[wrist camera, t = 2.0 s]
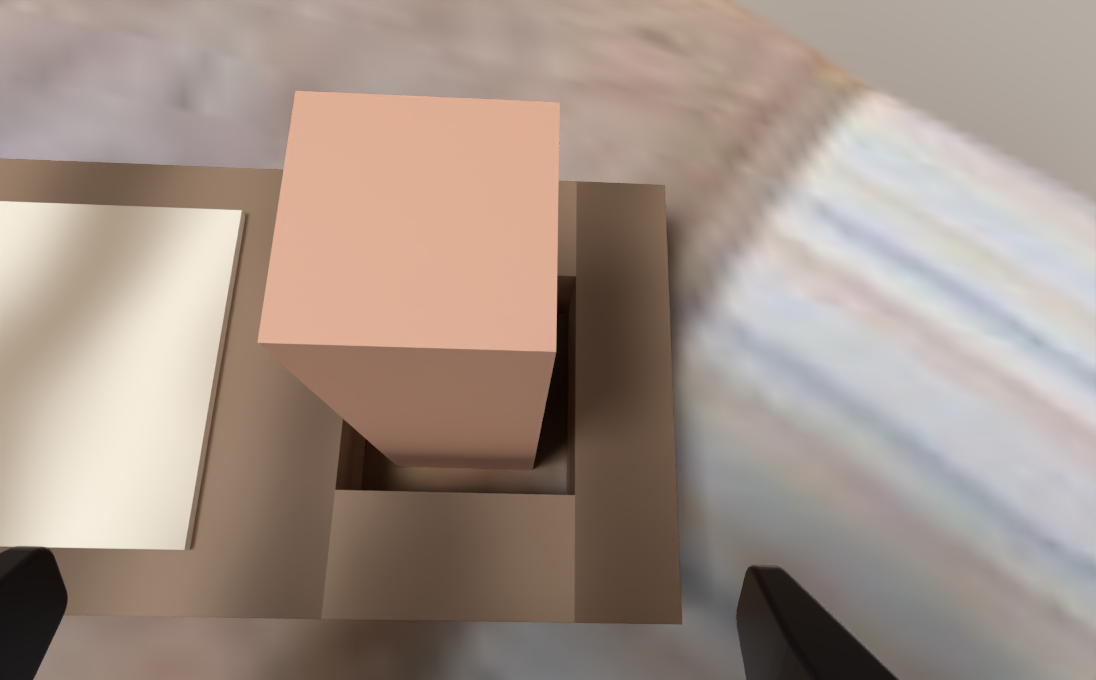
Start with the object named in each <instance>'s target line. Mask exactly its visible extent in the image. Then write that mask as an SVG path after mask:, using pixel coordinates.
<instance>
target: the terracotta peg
mask: <svg viewBox="0 0 1096 680" xmlns="http://www.w3.org/2000/svg"><path fill="white" fill-rule="evenodd" d="M559 114H560V102H537V101H515V100H492V99H469V98H447V97H424V96H401V95H379V94H356V93H333V92H311V91H295V97H294V104H293V111H292V117H291V124H290V130H289V137H288V144H287V150H286V157H285V163H284V170H283V177H282V183H281V190H280V196H279V203H278V210H277V216H276V223H275V229H274V236H273V243H272V249H271V256H270V262H269V269H268V276H267V282H266V289H265V296H264V302H263V309H262V315H261V322H260V329H259V335H258V342H257V343H258V344H259V345H260V346H261V347H263V348H264V349H265V350H266V351H267V352H268V353H269V354H271V355H272V356H273V357H274V358H275V359H276V360H277V361H278V362H280V363H281V364H282V365H283V366H284V367H285V368H286V369H287V370H289V371H290V372H291V373H292V374H293V375H294V376H295V377H297V378H298V379H299V380H300V381H301V382H302V383H303V384H304V385H306V386H307V387H308V388H309V389H310V390H311V391H312V392H313V393H315V394H316V395H317V396H318V397H319V398H320V399H321V400H323V401H324V402H325V403H326V404H327V405H328V406H329V407H330V408H332V409H333V410H334V411H335V412H336V413H337V414H338V415H340V416H341V417H342V418H343V419H344V420H345V421H346V422H347V423H349V424H350V425H351V426H352V427H353V428H354V429H355V430H356V431H358V432H359V433H360V434H361V435H362V436H363V437H364V438H366V439H367V440H368V441H369V442H370V443H371V444H372V445H373V446H375V447H376V448H377V449H378V450H379V451H380V452H381V453H382V454H384V455H385V456H386V457H387V458H388V459H389V460H390V461H392V462H393V463H394V464H395V465H396V466H397V467H439V468H482V469H525V470H533V465H534V460H535V455H536V450H537V445H538V440H539V435H540V430H541V425H542V420H543V415H544V410H545V405H546V400H547V395H548V390H549V385H550V380H551V375H552V370H553V365H554V360H555V355H556V329H557V257H558V186H559Z"/></svg>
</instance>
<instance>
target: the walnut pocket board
mask: <svg viewBox="0 0 1096 680" xmlns="http://www.w3.org/2000/svg"><path fill="white" fill-rule="evenodd" d="M282 177H283V170H277V169H252V168H227V167H202V166H177V165H152V164H127V163H102V162H77V161H52V160H27V159H2V158H0V553H1V552H3V551H4V550H6V549H8V548H11V547H15V546H42V547H46V548H49V549H50V550H51V551H52V552H53V554H54V556H55V558H56V561H57V564H58V567H59V570H60V572H61V575H62V578H63V581H64V584H65V586H66V589H67V593H68V602H67V607H66V611H65V613H64V615H85V616H153V617H221V618H289V619H356V620H424V621H492V622H560V623H627V624H682V612H681V586H680V560H679V535H678V509H677V483H676V458H675V432H674V406H673V381H672V355H671V329H670V304H669V278H668V252H667V227H666V201H665V185H652V184H627V183H602V182H577V181H559V186H558V257H557V313H568V385H567V495H544V494H499V493H454V492H408V491H363V490H361V484H362V474H363V464H364V454H365V443H366V438H364V437H363V436H362V435H361V434H360V433H359V432H358V431H356V430H355V429H354V428H353V427H352V426H351V425H350V424H349V423H347V422H346V421H345V420H344V419H343V418H342V417H341V416H340V415H338V414H337V413H336V412H335V411H334V410H333V409H332V408H330V407H329V406H328V405H327V404H326V403H325V402H324V401H323V400H321V399H320V398H319V397H318V396H317V395H316V394H315V393H313V392H312V391H311V390H310V389H309V388H308V387H307V386H306V385H304V384H303V383H302V382H301V381H300V380H299V379H298V378H297V377H295V376H294V375H293V374H292V373H291V372H290V371H289V370H287V369H286V368H285V367H284V366H283V365H282V364H281V363H280V362H278V361H277V360H276V359H275V358H274V357H273V356H272V355H271V354H269V353H268V352H267V351H266V350H265V349H264V348H263V347H261V346H260V345H259V344H258V343H257V342H258V335H259V329H260V322H261V315H262V309H263V302H264V296H265V289H266V282H267V276H268V269H269V262H270V256H271V249H272V243H273V236H274V229H275V223H276V216H277V210H278V203H279V196H280V190H281V183H282Z"/></svg>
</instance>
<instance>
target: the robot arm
mask: <svg viewBox="0 0 1096 680" xmlns="http://www.w3.org/2000/svg"><path fill="white" fill-rule="evenodd" d="M67 602H68V593H67V589H66V586H65V584H64V581H63V578H62V575H61V572H60V570H59V567H58V564H57V561H56V558H55V556H54V554H53V552H52V551H51V550H50V549H49V548H46V547H42V546H15V547H11V548H8V549H6V550H4V551H3V552H1V553H0V680H33V679H34V677H35V675H36V673H37V671H38V669H39V667H40V664H41V662H42V660H43V658H44V656H45V654H46V652H47V650H48V647H49V645H50V643H51V641H52V639H53V637H54V635H55V633H56V630H57V628H58V626H59V624H60V622H61V620H62V618H63V616H64V613H65V611H66V607H67ZM736 620H737V629H738V635H739V641H740V646H741V652H742V657H743V663H744V668H745V674H746V680H899V679H898V678H897V677H896V676H895V675H894V674H893V673H892V672H891V671H889V670H888V669H887V668H886V667H885V666H884V665H883V664H882V663H881V662H880V661H879V660H878V659H877V658H876V657H875V656H874V655H873V654H872V653H871V652H870V651H869V650H868V649H867V648H865V647H864V646H863V645H862V644H861V643H860V642H859V641H858V640H857V639H856V638H855V637H854V636H853V635H852V634H851V633H850V632H849V631H848V630H847V629H846V628H845V627H844V626H843V625H841V624H840V623H839V622H838V621H837V620H836V619H835V618H834V617H833V616H832V615H831V614H830V613H829V612H828V611H827V610H826V609H825V608H824V607H823V606H822V605H821V604H820V603H819V602H818V601H816V600H815V599H814V598H813V597H812V596H811V595H810V594H809V593H808V592H807V591H806V590H805V589H804V588H803V587H802V586H801V585H800V584H799V583H798V582H797V581H796V580H795V579H794V578H792V577H791V576H790V575H789V574H788V573H787V572H786V571H785V570H784V569H783V568H781V567H779V566H771V565H752V566H750V567H749V568H748V569H747V571H746V574H745V578H744V582H743V586H742V590H741V594H740V598H739V602H738V607H737V614H736Z"/></svg>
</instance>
